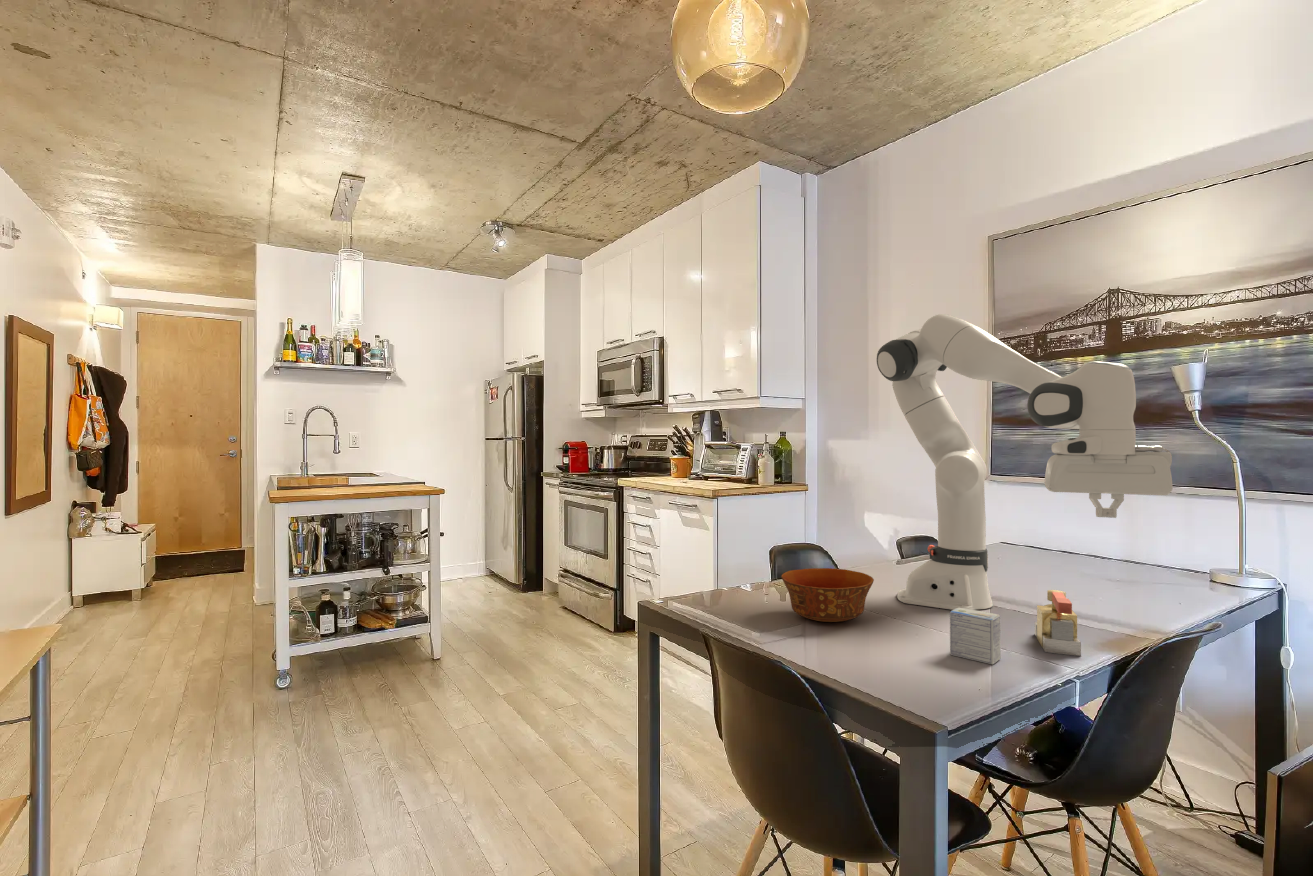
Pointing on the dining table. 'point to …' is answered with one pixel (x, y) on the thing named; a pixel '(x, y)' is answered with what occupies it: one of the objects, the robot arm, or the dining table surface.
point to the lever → (1060, 601)
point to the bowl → (827, 593)
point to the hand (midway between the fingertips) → (1106, 517)
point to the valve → (1057, 631)
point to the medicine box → (975, 635)
